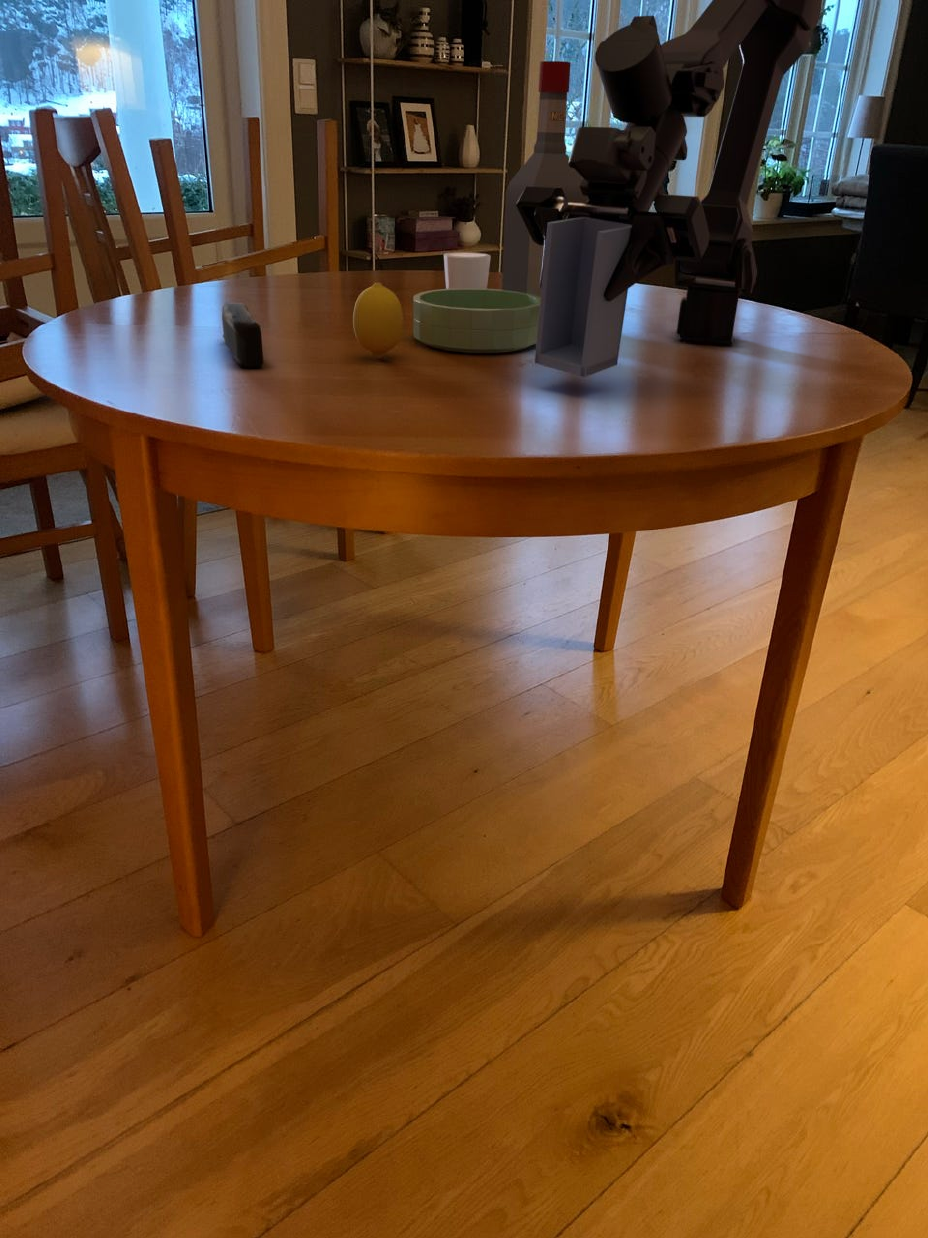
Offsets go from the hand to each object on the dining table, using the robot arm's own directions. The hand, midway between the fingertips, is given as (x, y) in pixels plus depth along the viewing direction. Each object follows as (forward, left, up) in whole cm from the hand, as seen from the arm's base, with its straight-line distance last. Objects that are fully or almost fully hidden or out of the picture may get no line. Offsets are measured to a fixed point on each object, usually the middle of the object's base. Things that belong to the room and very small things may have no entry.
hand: (573, 293), depth 85 cm
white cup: (+22, -44, -9) cm, 50 cm away
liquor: (+9, -34, -9) cm, 37 cm away
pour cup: (-1, -2, -7) cm, 7 cm away
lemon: (+22, -7, -9) cm, 25 cm away
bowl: (+14, -20, -9) cm, 27 cm away
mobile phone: (+37, -3, -9) cm, 39 cm away
